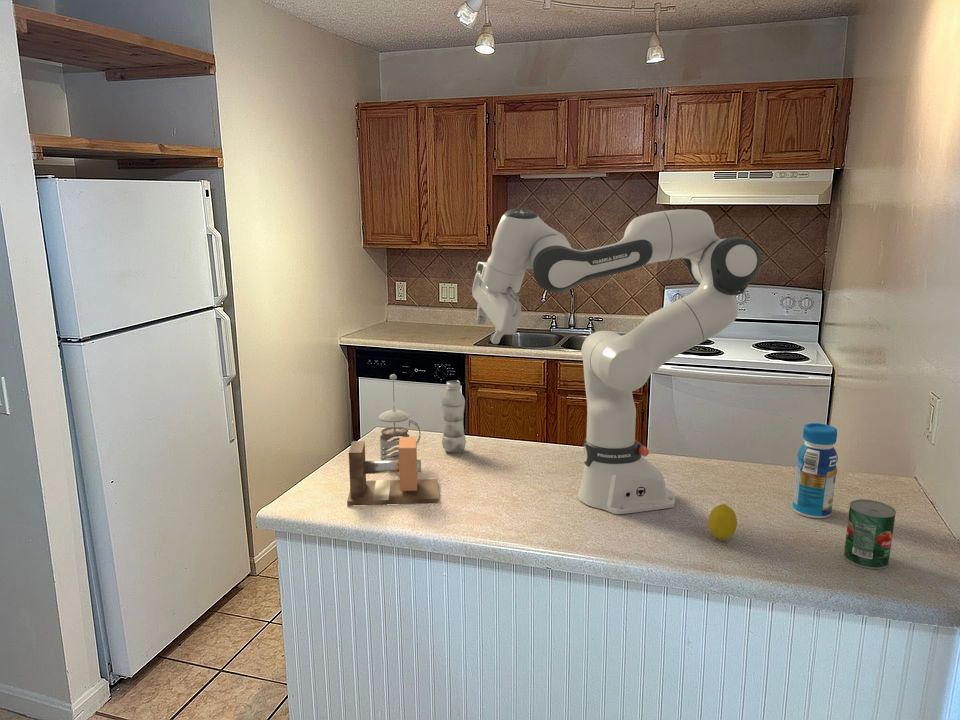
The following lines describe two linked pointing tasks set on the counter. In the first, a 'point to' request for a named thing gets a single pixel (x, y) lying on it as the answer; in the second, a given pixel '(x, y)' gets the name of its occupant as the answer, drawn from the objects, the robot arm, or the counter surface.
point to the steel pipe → (385, 466)
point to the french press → (393, 430)
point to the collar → (408, 463)
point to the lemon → (722, 522)
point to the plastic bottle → (453, 418)
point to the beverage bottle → (816, 471)
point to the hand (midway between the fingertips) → (487, 332)
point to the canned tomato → (869, 534)
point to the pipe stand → (383, 485)
